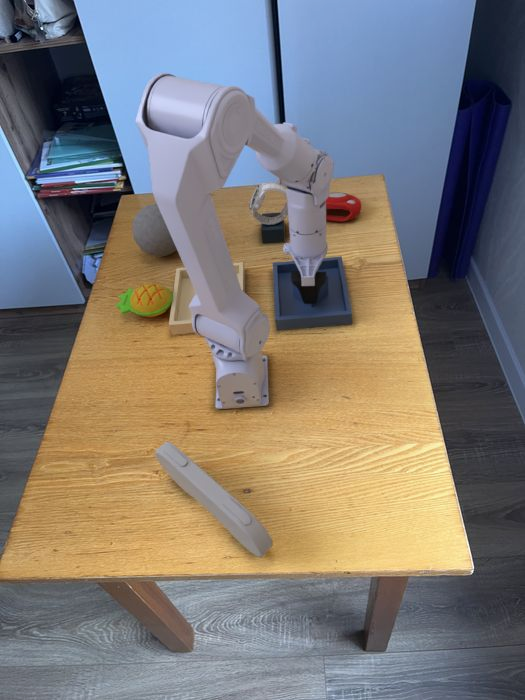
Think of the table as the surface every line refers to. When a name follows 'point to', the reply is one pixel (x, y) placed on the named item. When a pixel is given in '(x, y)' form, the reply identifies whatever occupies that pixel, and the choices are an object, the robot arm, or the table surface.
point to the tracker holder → (343, 206)
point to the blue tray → (321, 314)
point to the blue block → (322, 292)
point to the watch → (269, 214)
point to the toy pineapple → (146, 300)
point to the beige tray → (190, 299)
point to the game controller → (215, 499)
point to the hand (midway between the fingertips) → (310, 288)
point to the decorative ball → (152, 232)
